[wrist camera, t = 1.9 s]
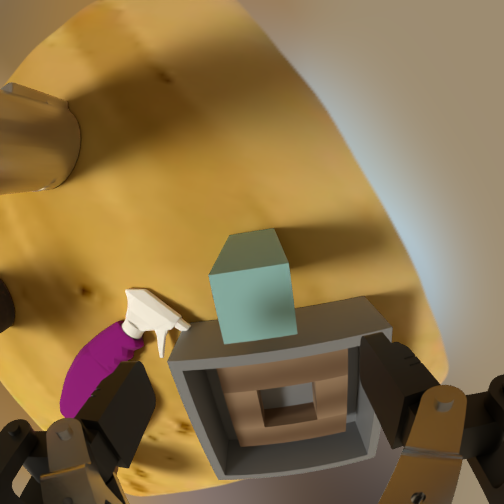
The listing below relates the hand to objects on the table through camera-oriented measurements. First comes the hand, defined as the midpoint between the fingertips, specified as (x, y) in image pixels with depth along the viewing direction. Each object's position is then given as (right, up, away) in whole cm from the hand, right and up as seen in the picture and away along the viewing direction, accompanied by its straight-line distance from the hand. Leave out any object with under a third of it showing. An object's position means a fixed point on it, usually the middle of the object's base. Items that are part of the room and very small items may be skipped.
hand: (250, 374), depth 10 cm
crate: (+4, -10, +20) cm, 23 cm away
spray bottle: (-16, -10, +20) cm, 28 cm away
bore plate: (+4, -10, +20) cm, 23 cm away
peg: (0, +4, +17) cm, 17 cm away
